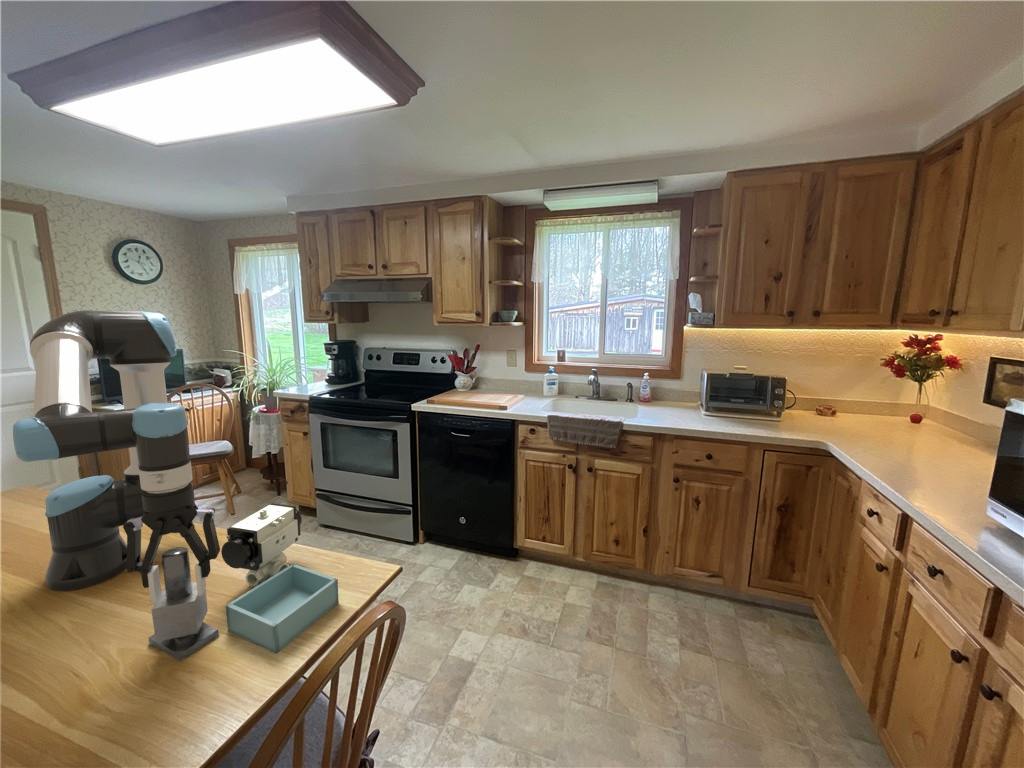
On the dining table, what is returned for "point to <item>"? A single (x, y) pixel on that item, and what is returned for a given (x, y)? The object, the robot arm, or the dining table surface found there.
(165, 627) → the block with domed cylinder
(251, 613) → the bin
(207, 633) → the stud plate
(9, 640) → the dining table surface
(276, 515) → the ball valve
